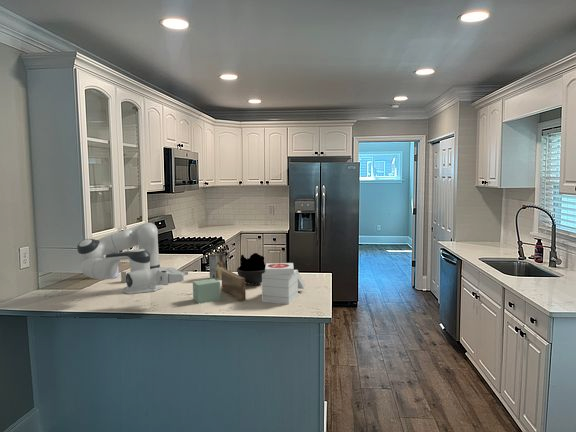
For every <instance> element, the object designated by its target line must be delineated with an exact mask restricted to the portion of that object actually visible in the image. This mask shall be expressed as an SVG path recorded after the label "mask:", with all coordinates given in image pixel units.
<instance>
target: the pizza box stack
mask: <svg viewBox="0 0 576 432" xmlns="http://www.w3.org/2000/svg"><path fill="white" fill-rule="evenodd" d="M265 265H266V267H265V273H263V274H262V282H261V299H262V301H261V302H264V303H274V304H283V305H284V304H286V305H290V304H291V303H292V302H294V300H295V299H297V298H298V297H299V289H302V290H304V289H305V286H306V283H305V280H303V277H302V276H301V274H300V272H299V270H298V269H294V262H275V263H270V262H269V263H268V262H267V263H265Z"/></svg>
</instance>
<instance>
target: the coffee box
mask: <svg viewBox="0 0 576 432" xmlns="http://www.w3.org/2000/svg"><path fill="white" fill-rule="evenodd" d="M226 259H227V258H226V253H222V252H218V253H214V254H209V255H208V263H209V264H208V265H209V266H208V267H209V279H215V280H217V281H220V280H222V273H221V270H227V264H226V262H227V260H226Z"/></svg>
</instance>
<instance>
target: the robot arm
mask: <svg viewBox="0 0 576 432" xmlns="http://www.w3.org/2000/svg"><path fill="white" fill-rule="evenodd" d="M158 231H159V230H158V228H157V225H155V224H154V223H153V222H144V223H141V224H138V225H136V226H132V227H129V228H127V229H123V230H121V231H117V232H114V233H110V234H108V235H105V236H103V237H101V238H99V239H95V238H87V239H85V238H84V239H83V240H81V241H79V243H78V244H77V246H76V249H77V253H78V254H79V257H80V259H81V261H82V263H81V266H80V271H81V274H82V275H83V276H85V277H88V278H92V279H96V280H101V281H102V280H105V281H106V280H109V279H112V278H111V277H113V276H114V275H115V273H116V271H117V269H118V268H119V264H120V262H121V261H122V260H129V268H130V269H129V270H130V271H129V272H126V273H127V274H126V283H125V284H126V286H125V287H123V288H122V292H123V293H124V294H127V295H130V294H131V295H132V294H133V295H134V294H140V293H141V294H142V293H152V292H157V291H158V290H161V289H163V287H164V286H169V284H176V283H180V282H184V281H185V276H188V275H189V271H187V270H185V269H184V270H178V269H177V268H175V267H172V266H171V267H164V266H161V265H160V256H159V255H160V253H159V241H158V239H159V237H158V235H159V233H158ZM136 246H138V249H133V250H130V249H132V248H135V247H136ZM128 249H129V250H128ZM124 250H125V251H124ZM126 250H127V251H126Z"/></svg>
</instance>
